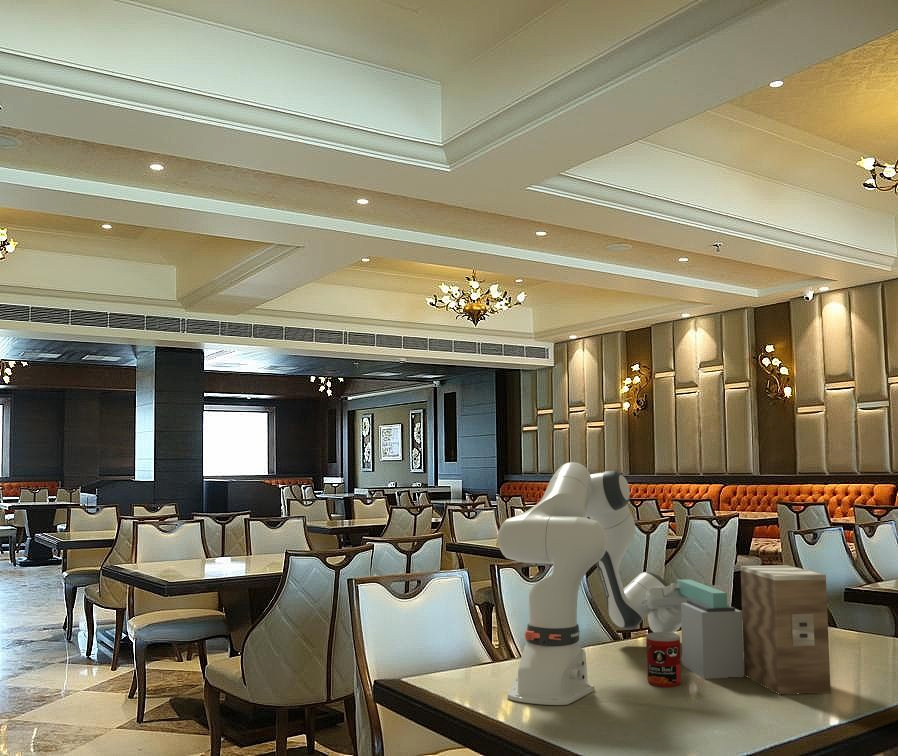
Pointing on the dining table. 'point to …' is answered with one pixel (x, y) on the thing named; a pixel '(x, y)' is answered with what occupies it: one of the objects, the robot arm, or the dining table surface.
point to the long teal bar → (702, 593)
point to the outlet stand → (785, 628)
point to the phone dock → (712, 640)
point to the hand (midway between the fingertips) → (692, 585)
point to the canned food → (663, 659)
